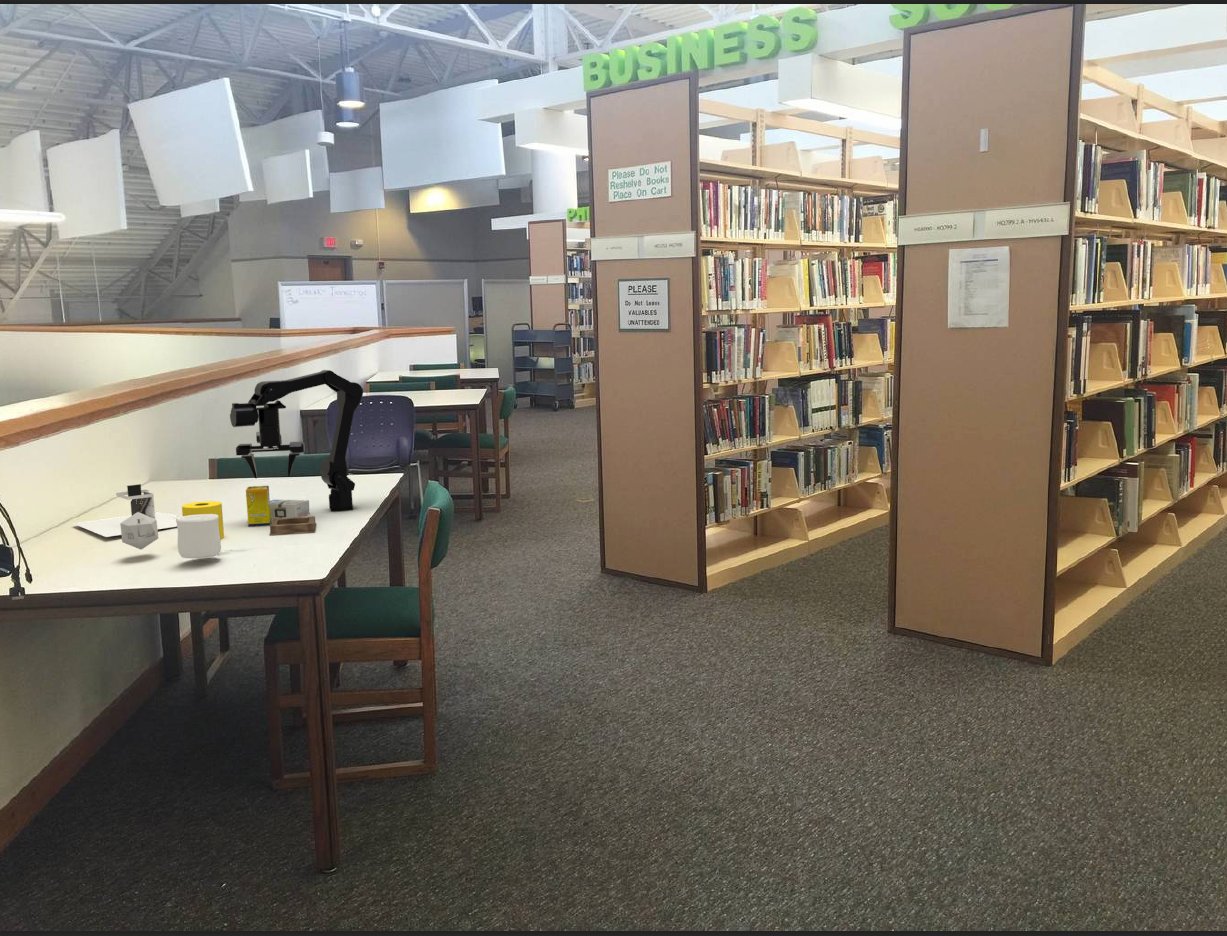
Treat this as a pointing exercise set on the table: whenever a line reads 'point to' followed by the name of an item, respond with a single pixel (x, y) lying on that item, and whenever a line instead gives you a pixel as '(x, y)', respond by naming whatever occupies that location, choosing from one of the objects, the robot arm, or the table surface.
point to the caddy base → (293, 525)
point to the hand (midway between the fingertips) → (272, 477)
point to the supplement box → (258, 506)
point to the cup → (198, 536)
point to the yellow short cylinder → (205, 511)
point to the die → (139, 530)
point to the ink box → (289, 508)
